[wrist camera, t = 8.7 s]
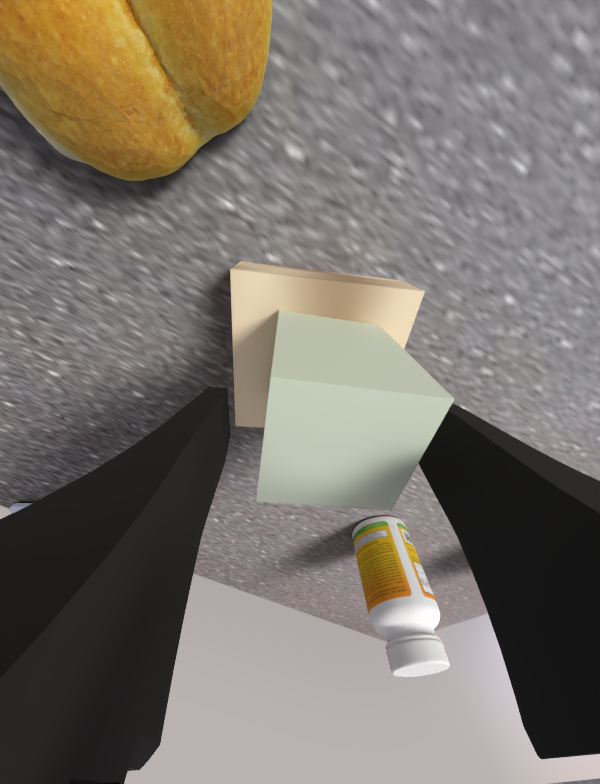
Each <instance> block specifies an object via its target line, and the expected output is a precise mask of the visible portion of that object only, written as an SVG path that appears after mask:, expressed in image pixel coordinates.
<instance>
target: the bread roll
mask: <svg viewBox="0 0 600 784" xmlns="http://www.w3.org/2000/svg"><path fill="white" fill-rule="evenodd" d="M271 20H272V0H0V86H1V88H2V89H3V90H4V91H5V92H6V94H7V95H8V96H9V98H10V99H11V100H12V102H13V103H14V104H15V106H16V107H17V109H18V110H19V111H20V112H21V113H22V114H23V116H24V117H25V118H26V119H27V120H28V122H29V123H31V124H32V125H33V126H34V127H35V128H36V130H37V131H38V132H39V133H40V134H41V135H42V136H43V137H44V138H45V139H46V140H47V141H48V142H49V143H50V144H51V145H52V146H53V147H54V148H55V149H56V150H57V151H59V152H60V153H61V154H62V155H64V156H66V157H68V158H70V159H72V160H75V161H79V162H83V163H86V164H89V165H90V166H92V167H94V168H96V169H97V170H99V171H101V172H104V173H106V174H109V175H111V176H114V177H116V178H120V179H123V180H128V181H142V180H147V179H153V178H158V177H162V176H167V175H169V174H171V173H173V172H175V171H177V170H178V169H180V168H181V167H182V166H183V165H184V164H185V163H186V162H187V161H188V160H189V159H190V158H191V157H192V156H193V155H194V154H195V153H196V152H197V150H198V149H199V148H200V147H201V146H203V145H204V144H205V143H207V142H208V141H209V140H210V139H212V138H213V137H214V136H216V135H219V134H222V133H225V132H227V131H228V130H230V129H232V128H233V127H235V126H236V125H238V124H239V123H241V122H242V120H243V119H244V118H245V117H246V116H247V115H248V114H249V112H250V111H251V110H252V108H253V107H254V106H255V104H256V101H257V99H258V97H259V95H260V91H261V87H262V83H263V79H264V74H265V69H266V63H267V58H268V52H269V43H270V33H271Z"/></svg>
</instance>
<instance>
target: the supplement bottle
mask: <svg viewBox="0 0 600 784" xmlns="http://www.w3.org/2000/svg"><path fill="white" fill-rule="evenodd" d="M352 539H353V544H354V549H355V553H356V558H357V562H358V567H359V572H360V576H361V581H362V585H363V590H364V595H365V599H366V604H367V609H368V613H369V617H370V621H371V624H372V626H373V628H374V629H375V630H376V631H377V632H378V633H379V634H381V635H383V636H385V637H386V639H387V642H388V644H387V645H386V650H387V651H386V653H387V656H388V660H389V664H390V668H391V672H392V674H393V675H395V676H400V677H413V676H423V675H429V674H434V673H438V672H441V671H444V670H446V669H447V668H449V666H450V664H449V660H448V658H447V655H446V652H445V649H444V646H443V643H442V642H441V640H440V638H439V637H438V636H436V635H435V633H434V628H435V627H436V626H437V625H438V623H439V620H440V612H439V608H438V605H437V602H436V600H435V598H434V595H433V593H432V590H431V588H430V585H429V583H428V580H427V578H426V575H425V573H424V570H423V568H422V565H421V563H420V560H419V558H418V555H417V553H416V550H415V548H414V545H413V543H412V541H411V538H410V535H409V533H408V531H407V529H406V526H405V524H404V523H403V522H402V521H401V520H400V519H398V518H395V517H391V516H378V517H373V518H369V519H367V520H364V521H362V522H361V523H359V524H358V525H357V526H356V527H355V528H354V530H353V533H352Z"/></svg>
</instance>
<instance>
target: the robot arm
mask: <svg viewBox="0 0 600 784" xmlns="http://www.w3.org/2000/svg"><path fill="white" fill-rule="evenodd" d="M229 438H230V423H229V408H228V393H227V388H213V387H208V388H207V389H206V390H205V391H203V392H202V393H201V394H200V395H199V396H197V397H196V398H195V399H194V400H192V401H191V402H190V403H189V404H188V405H186V406H185V407H184V408H183V409H182V410H180V411H179V412H178V413H177V414H175V415H174V416H173V417H172V418H170V419H169V420H168V421H167V422H165V423H164V424H163V425H161V426H160V427H158V428H157V429H156V430H154V431H153V432H152V433H150V434H149V435H147V436H146V437H145V438H143V439H142V440H140V441H139V442H138V443H136V444H135V445H133V446H132V447H130V448H129V449H127V450H126V451H124V452H123V453H121V454H120V455H118V456H116V457H115V458H113V459H111V460H110V461H108V462H107V463H105V464H103V465H102V466H100V467H98V468H97V469H95V470H93V471H92V472H90V473H88V474H86V475H85V476H83V477H81V478H79V479H77V480H75V481H73V482H72V483H70V484H68V485H66V486H64V487H62V488H60V489H59V490H57V491H55V492H53V493H51V494H49V495H48V496H46V497H44V498H42V499H40V500H38V501H36V502H35V503H15V504H13V505H12V506H11V507H10V508H9V510H10V511H11V512H12V514H11V515H8V516H6V517H5V518H2V519H0V784H124V781H125V778H126V774H127V771H131V770H140V769H141V768H142V767H143V766H144V765H145V763H146V762H147V761H148V760H149V759H150V757H151V756H152V755H153V754H154V752H155V751H156V749H157V748H158V747H159V745H160V742H161V736H162V730H163V725H164V719H165V714H166V708H167V703H168V697H169V692H170V686H171V680H172V676H173V670H174V665H175V659H176V654H177V649H178V644H179V639H180V634H181V629H182V624H183V619H184V614H185V609H186V604H187V600H188V595H189V590H190V585H191V581H192V576H193V571H194V567H195V562H196V558H197V553H198V549H199V545H200V540H201V536H202V533H203V529H204V526H205V522H206V519H207V516H208V513H209V510H210V507H211V504H212V500H213V497H214V494H215V491H216V488H217V485H218V482H219V479H220V476H221V472H222V469H223V466H224V463H225V459H226V454H227V449H228V444H229ZM419 465H420V467H421V469H422V471H423V473H424V475H425V477H426V479H427V480H428V482H429V484H430V486H431V488H432V490H433V492H434V493H435V495H436V497H437V499H438V501H439V503H440V505H441V506H442V508H443V510H444V512H445V514H446V516H447V517H448V519H449V521H450V523H451V525H452V527H453V529H454V531H455V533H456V535H457V537H458V539H459V541H460V544H461V546H462V548H463V551H464V553H465V556H466V558H467V560H468V563H469V565H470V567H471V570H472V572H473V575H474V577H475V580H476V583H477V585H478V588H479V590H480V593H481V595H482V598H483V601H484V603H485V606H486V609H487V611H488V614H489V617H490V620H491V623H492V626H493V629H494V632H495V634H496V637H497V640H498V643H499V646H500V648H501V652H502V655H503V658H504V661H505V665H506V668H507V671H508V674H509V678H510V681H511V684H512V688H513V691H514V694H515V697H516V700H517V704H518V708H519V712H520V715H521V719H522V722H523V726H524V728H525V730H526V732H527V734H528V736H529V738H530V741H531V743H532V745H533V747H534V749H535V751H536V753H537V755H538V756H539V758H541V759H548V758H559V757H571V756H582V755H593V754H600V481H598V480H596V479H594V478H592V477H590V476H587V475H585V474H583V473H581V472H579V471H577V470H575V469H573V468H571V467H569V466H567V465H565V464H563V463H561V462H559V461H557V460H555V459H553V458H551V457H549V456H547V455H545V454H543V453H541V452H540V451H538V450H536V449H534V448H532V447H530V446H528V445H527V444H525V443H523V442H521V441H519V440H517V439H516V438H514V437H512V436H510V435H509V434H507V433H505V432H503V431H502V430H500V429H498V428H496V427H495V426H493V425H491V424H489V423H488V422H486V421H484V420H482V419H481V418H479V417H477V416H475V415H474V414H472V413H470V412H468V411H466V410H464V409H463V408H461V407H459V406H457V405H455V404H453V403H452V405H451V406H450V408H449V410H448V412H447V413H446V415H445V417H444V419H443V421H442V422H441V424H440V426H439V428H438V429H437V431H436V433H435V435H434V436H433V438H432V440H431V442H430V443H429V445H428V447H427V449H426V450H425V452H424V454H423V456H422V457H421V459H420V461H419ZM553 784H600V779H591V780H582V781H572V782H562V783H553Z"/></svg>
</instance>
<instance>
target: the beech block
mask: <svg viewBox="0 0 600 784" xmlns="http://www.w3.org/2000/svg"><path fill="white" fill-rule="evenodd" d="M230 278H231V308H232V338H233V367H234V397H235V426H242V427H260V428H265V421H266V413H267V404H268V395H269V387H270V378H271V370H272V362H273V354H274V346H275V338H276V330H277V322H278V314H279V310H284V311H290V312H296V313H303V314H309V315H316V316H322V317H329V318H335V319H342V320H348V321H355V322H361V323H368V324H374V325H380V326H381V327H382V328H383V329H384V330H385V331H386V332H387V333H388V334H389V335H390V336H391V337H392V338H393V339H394V340H395V341H396V342H397V343H398V344H399V345H400V346H401V347H402V348H403V349H404V348H405V345H406V342H407V340H408V337H409V334H410V331H411V328H412V326H413V323H414V320H415V317H416V314H417V312H418V309H419V306H420V303H421V301H422V298H423V295H424V292H425V291H423V290H421V289H418V288H416V287H414V286H412V285H410V284H408V283H406V282H404V281H402V280H393V279H385V278H376V277H368V276H359V275H351V274H342V273H334V272H325V271H317V270H308V269H300V268H291V267H283V266H274V265H266V264H257V263H249V262H239V263H238V264H236V265H235V266H234V267H232V268H231V269H230Z"/></svg>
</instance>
